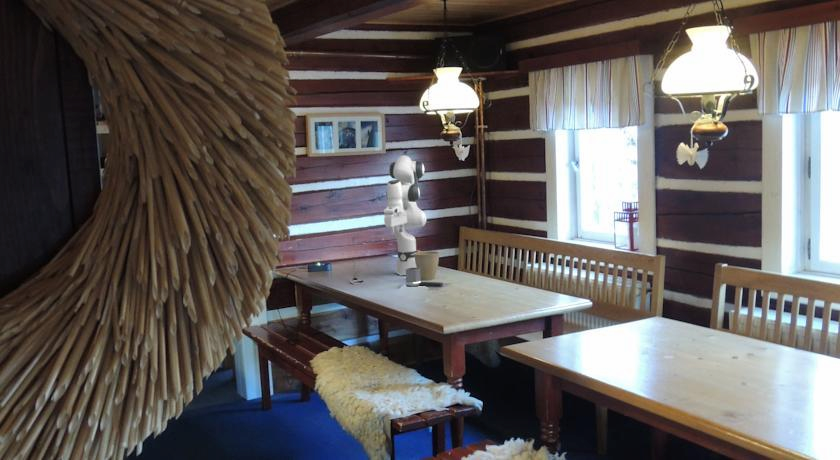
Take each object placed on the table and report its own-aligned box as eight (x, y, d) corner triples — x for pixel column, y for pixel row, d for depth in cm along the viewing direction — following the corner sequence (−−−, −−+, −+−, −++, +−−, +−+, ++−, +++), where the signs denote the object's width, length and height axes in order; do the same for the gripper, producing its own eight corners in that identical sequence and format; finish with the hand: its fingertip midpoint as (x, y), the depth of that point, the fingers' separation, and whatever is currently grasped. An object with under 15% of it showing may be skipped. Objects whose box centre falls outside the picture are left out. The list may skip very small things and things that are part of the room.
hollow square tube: (411, 279, 443) (410, 267, 442) (420, 280, 441) (420, 267, 440) (406, 281, 438) (405, 269, 437) (415, 282, 435) (415, 269, 434)
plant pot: (440, 281, 450) (439, 254, 448) (414, 282, 450) (413, 255, 449) (440, 276, 465) (439, 250, 463) (415, 278, 465) (414, 251, 463)
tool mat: (411, 282, 452) (410, 281, 451) (452, 284, 440) (452, 283, 440) (394, 289, 434) (394, 288, 434) (437, 291, 422) (437, 290, 422)
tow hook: (367, 283, 458) (361, 280, 467) (366, 262, 456) (360, 259, 464) (354, 285, 455) (348, 282, 463) (353, 264, 453) (346, 261, 461)
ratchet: (403, 286, 438) (402, 276, 437) (410, 283, 445) (409, 273, 445) (438, 288, 428) (437, 277, 427) (444, 285, 436) (444, 274, 435)
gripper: (399, 207, 456) (400, 230, 457) (382, 211, 438) (383, 235, 439) (409, 207, 453) (410, 231, 455) (392, 211, 435) (393, 235, 436)
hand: (397, 233), depth 447 cm, fingers open, 8 cm apart
